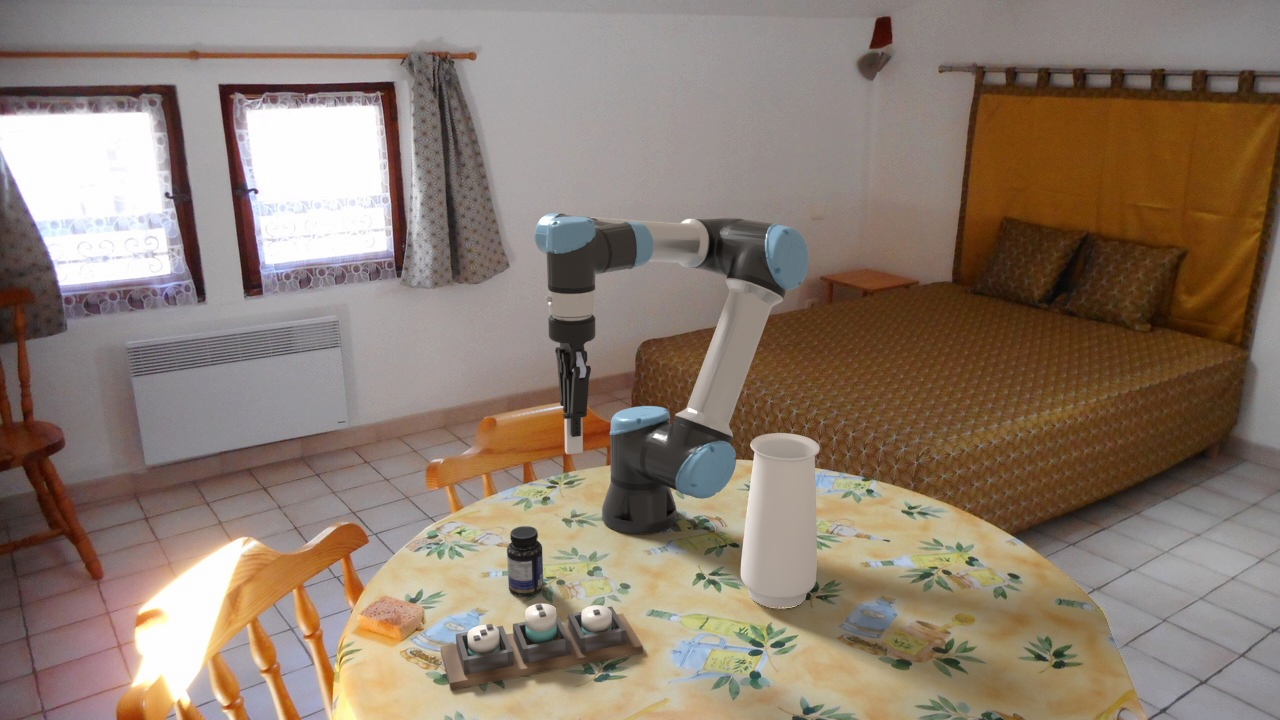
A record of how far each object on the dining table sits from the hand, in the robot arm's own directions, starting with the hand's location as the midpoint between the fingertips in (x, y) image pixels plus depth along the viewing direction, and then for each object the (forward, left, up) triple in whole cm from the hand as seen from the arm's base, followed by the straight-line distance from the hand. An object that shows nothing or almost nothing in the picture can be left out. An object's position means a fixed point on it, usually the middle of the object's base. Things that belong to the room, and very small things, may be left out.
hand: (573, 451), depth 164 cm
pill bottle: (+8, -4, -27) cm, 28 cm away
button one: (+1, +16, -25) cm, 30 cm away
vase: (-33, +12, -27) cm, 44 cm away
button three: (+19, +16, -25) cm, 35 cm away
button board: (+10, +16, -26) cm, 32 cm away
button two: (+10, +16, -23) cm, 30 cm away
